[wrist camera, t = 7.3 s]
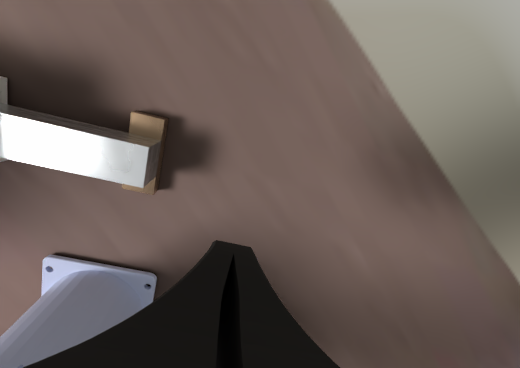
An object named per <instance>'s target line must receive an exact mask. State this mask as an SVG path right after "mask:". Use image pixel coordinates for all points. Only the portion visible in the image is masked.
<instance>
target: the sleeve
mask: <svg viewBox="0 0 520 368" xmlns="http://www.w3.org/2000/svg"><path fill="white" fill-rule="evenodd" d="M0 103H4V104H7V78H6V77H2V76H0ZM6 160H8V159H5V158H1V157H0V162H3V161H6Z"/></svg>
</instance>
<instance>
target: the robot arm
mask: <svg viewBox="0 0 520 368" xmlns="http://www.w3.org/2000/svg"><path fill="white" fill-rule="evenodd" d="M49 266H50V267H52V268H53V269H51V268H50V267H49ZM156 281H157V277H156V275H155V274H153V273H150V272H144V271H139V270H133V269H128V268H122V267H117V266H112V265H106V264H101V263H95V262H90V261H84V260H79V259H73V258H68V257H62V256H57V255H48V256H47V257H46V258H44V259H43V269H42V296H41V298H39V299H38V300H37V301H36V302H35V303H34V304H33V305H32V306H31V307H30V308H29V309H28V310H27V311H26V312H25V313H24V314H23V315H22V316H21V317H20V318H19V319H18V320H17V321H16V322H15V323H14V324H13V325H12V326H11V327H10V328H9V329H8V330H7V331H6V332H5V333H4V334H3V335H2V336H1V337H0V368H340V367H339V366H338V365H337V364H336V363H334V362H333V361H332V360H331V359H330V358H329V357H328V356H327V355H326V354H325V353H324V352H323V351H322V350H321V349H320V348H319V347H318V346H317V345H316V344H315V342H314V341H313V340H312V339H311V338H310V337H309V336H308V335H307V334H306V333H305V332H304V331H303V329H302V328H301V327H300V326H299V325H298V323H297V322H296V321H295V320H294V318H293V317H292V316H291V315H290V313H289V312H288V311H287V309H286V308H285V307H284V305H283V304H282V302H281V301H280V299H279V298H278V296H277V295H276V293H275V292H274V290H273V288H272V287H271V285H270V283H269V282H268V280H267V278H266V276H265V274H264V273H263V271H262V269H261V267H260V265H259V263H258V261H257V259H256V256H255V254H254V252H253V250H252V249H251V247H247V246H242V245H237V244H232V243H227V242H223V241H218V240H216V241H215V242H213V243H212V245H211V247H210V248H209V250H208V251H207V253H206V254H205V255H204V256H203V257H202V259H201V260H200V261H199V262H198V263H197V264H196V265H195V266H194V267H193V268H192V269H191V270H190V271H189V272H188V273H187V274H186V275H185V276H184V277H183V278H182V279H181V280H180V281H179V282H178V283H176V284H175V285H174V286H173V287H172V288H171V289H169V290H168V291H167V292H166V293H164V294H163V295H162V296H160V297H159V298H158V299H156V300H155V301H153V299H154V293H155V287H156ZM146 284H150V285H151V286H147V285H146Z"/></svg>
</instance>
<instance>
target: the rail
mask: <svg viewBox="0 0 520 368" xmlns="http://www.w3.org/2000/svg"><path fill="white" fill-rule="evenodd" d="M168 121H169V118H164V117H160V116H156V115H152V114H148V113H144V112H140V111H133V112H131V118H130V126H129V133H127V132H123V131H119V130H114V129H110V128H106V127H102V126H97V125H93V124H89V123H85V122H80V121H76V120H72V119H67V118H63V117H59V116H55V115H50V114H46V113H42V112H38V111H33V110H29V109H25V108H21V107H16V106H12V105H8V104H4V103H0V157H1V158H5V159H10V160H15V161H19V162H24V163H29V164H33V165H38V166H43V167H47V168H52V169H57V170H61V171H66V172H71V173H75V174H80V175H85V176H89V177H94V178H99V179H103V180H108V181H112V182H117V183H122V184H123V186H122V188H123V189H127V190H132V191H137V192H141V193H146V194H151V195H154V194H155V193H156V191H157V190H158V185H159V179H160V172H161V166H162V159H163V153H164V146H165V140H166V133H167V127H168Z"/></svg>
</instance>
